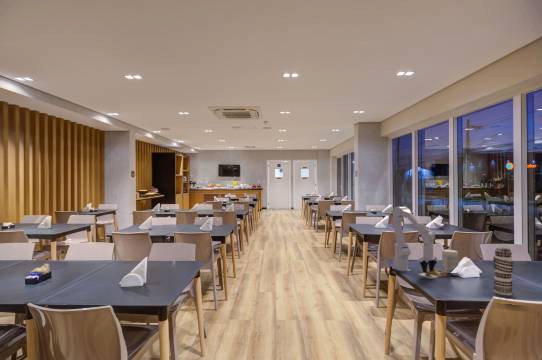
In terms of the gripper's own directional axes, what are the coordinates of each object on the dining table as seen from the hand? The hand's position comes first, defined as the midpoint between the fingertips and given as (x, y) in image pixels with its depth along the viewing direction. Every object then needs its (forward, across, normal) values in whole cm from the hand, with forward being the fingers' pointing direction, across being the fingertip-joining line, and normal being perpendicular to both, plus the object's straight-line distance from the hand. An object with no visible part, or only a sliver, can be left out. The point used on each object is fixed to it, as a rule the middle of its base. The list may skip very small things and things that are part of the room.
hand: (427, 271), depth 213 cm
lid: (+4, 0, 0) cm, 4 cm away
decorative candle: (+3, +12, -38) cm, 41 cm away
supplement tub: (+3, +23, +1) cm, 24 cm away
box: (+3, +8, 0) cm, 9 cm away
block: (+3, +8, 0) cm, 9 cm away
